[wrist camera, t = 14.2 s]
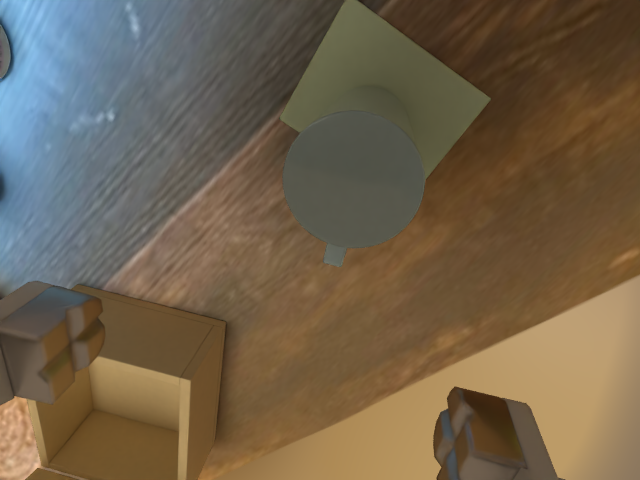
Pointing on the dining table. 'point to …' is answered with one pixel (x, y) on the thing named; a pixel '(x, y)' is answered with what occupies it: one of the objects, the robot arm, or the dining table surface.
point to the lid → (47, 475)
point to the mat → (386, 81)
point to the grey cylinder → (355, 172)
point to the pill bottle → (4, 53)
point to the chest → (138, 397)
